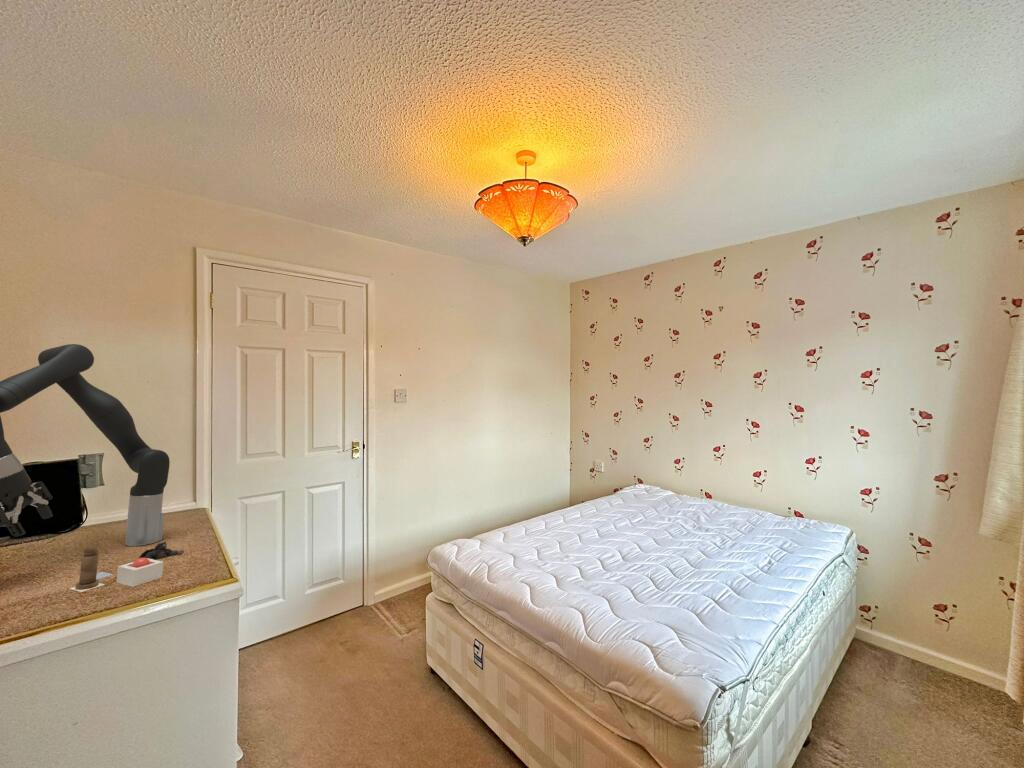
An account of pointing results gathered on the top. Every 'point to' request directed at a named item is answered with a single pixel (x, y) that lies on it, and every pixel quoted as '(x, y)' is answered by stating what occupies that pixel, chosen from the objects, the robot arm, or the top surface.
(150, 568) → the popper housing
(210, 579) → the top surface
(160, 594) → the top surface
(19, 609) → the top surface
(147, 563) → the popper button
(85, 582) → the pawn
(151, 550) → the stuffed animal
